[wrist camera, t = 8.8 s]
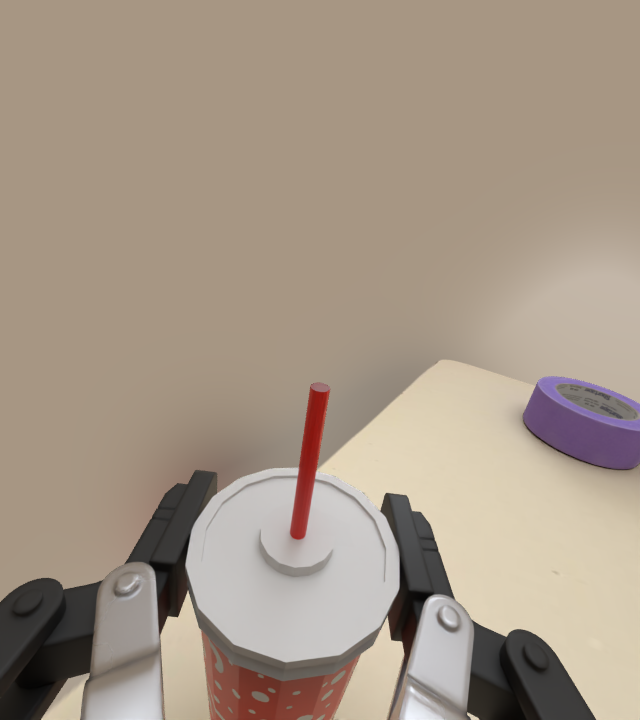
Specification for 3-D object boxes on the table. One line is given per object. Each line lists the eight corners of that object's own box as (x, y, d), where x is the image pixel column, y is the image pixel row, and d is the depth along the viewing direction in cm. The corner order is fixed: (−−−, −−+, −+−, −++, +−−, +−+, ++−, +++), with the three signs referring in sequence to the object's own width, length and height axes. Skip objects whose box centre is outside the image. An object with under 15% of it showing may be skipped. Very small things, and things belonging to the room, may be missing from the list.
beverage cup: (216, 610, 16) (225, 329, 11) (345, 623, 17) (416, 355, 11) (159, 819, 11) (119, 454, 5) (354, 834, 11) (507, 500, 6)
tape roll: (645, 444, 42) (667, 408, 40) (632, 486, 34) (658, 444, 32) (538, 400, 49) (552, 368, 47) (508, 427, 41) (523, 390, 39)
